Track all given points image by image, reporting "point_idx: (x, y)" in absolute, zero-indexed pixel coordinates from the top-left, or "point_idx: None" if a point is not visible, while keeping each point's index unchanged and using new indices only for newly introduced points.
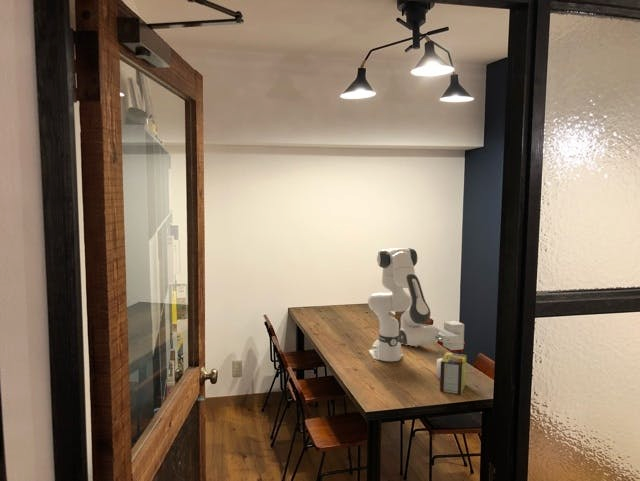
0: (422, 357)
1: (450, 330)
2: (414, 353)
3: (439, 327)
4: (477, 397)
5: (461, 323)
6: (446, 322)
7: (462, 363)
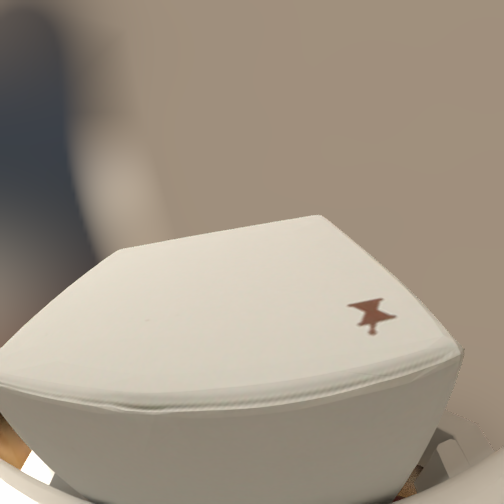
0: (27, 447)
1: (352, 495)
2: (4, 440)
3: (4, 495)
4: (402, 488)
5: (274, 224)
6: (27, 371)
7: (404, 497)
